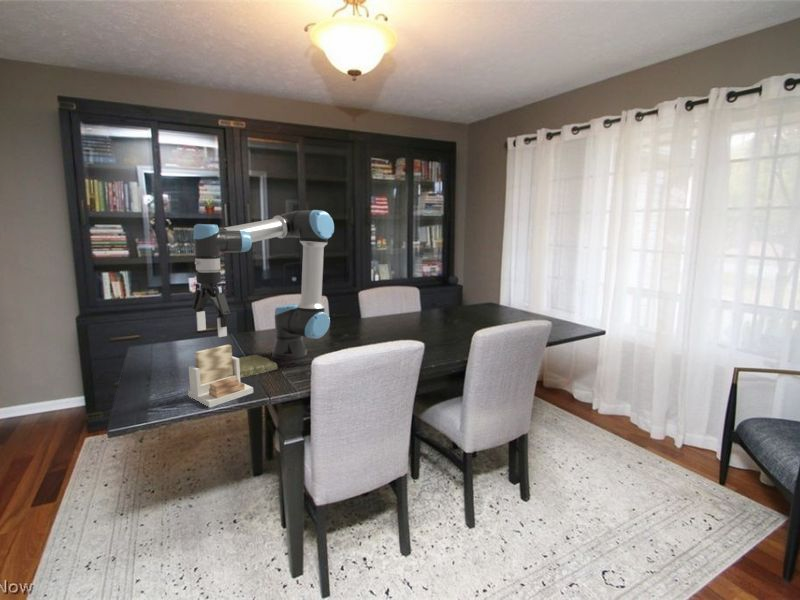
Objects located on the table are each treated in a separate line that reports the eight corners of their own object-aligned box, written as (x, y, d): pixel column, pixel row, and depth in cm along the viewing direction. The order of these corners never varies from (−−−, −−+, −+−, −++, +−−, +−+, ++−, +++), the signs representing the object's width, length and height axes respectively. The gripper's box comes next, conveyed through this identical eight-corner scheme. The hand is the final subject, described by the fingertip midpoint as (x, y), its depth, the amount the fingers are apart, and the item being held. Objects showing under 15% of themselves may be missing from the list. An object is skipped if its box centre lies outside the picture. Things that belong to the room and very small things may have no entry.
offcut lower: (236, 386, 148) (236, 380, 148) (244, 389, 145) (244, 383, 145) (209, 394, 140) (208, 389, 140) (217, 398, 137) (216, 392, 137)
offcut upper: (232, 382, 146) (231, 376, 146) (238, 385, 143) (238, 379, 143) (210, 389, 140) (209, 383, 139) (216, 392, 137) (216, 386, 137)
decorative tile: (210, 371, 170) (209, 363, 169) (255, 360, 185) (255, 352, 184) (232, 383, 158) (231, 373, 157) (279, 370, 172) (278, 361, 172)
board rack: (231, 383, 156) (229, 355, 154) (253, 392, 147) (251, 362, 145) (188, 396, 143) (185, 365, 141) (209, 407, 135) (207, 375, 133)
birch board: (230, 381, 152) (228, 344, 150) (233, 382, 151) (231, 345, 148) (197, 391, 143) (195, 351, 140) (200, 393, 141) (198, 353, 139)
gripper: (179, 269, 144) (183, 329, 148) (217, 274, 129) (221, 341, 133) (200, 268, 150) (203, 325, 154) (239, 273, 135) (242, 337, 139)
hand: (211, 333), depth 143 cm, fingers open, 13 cm apart
